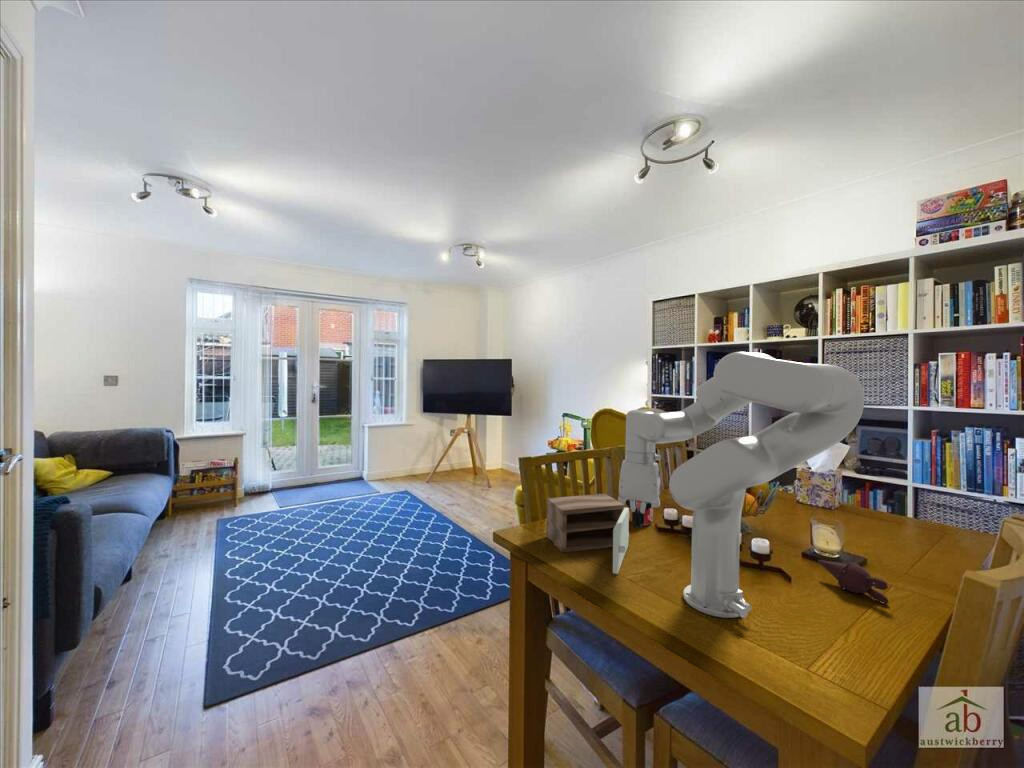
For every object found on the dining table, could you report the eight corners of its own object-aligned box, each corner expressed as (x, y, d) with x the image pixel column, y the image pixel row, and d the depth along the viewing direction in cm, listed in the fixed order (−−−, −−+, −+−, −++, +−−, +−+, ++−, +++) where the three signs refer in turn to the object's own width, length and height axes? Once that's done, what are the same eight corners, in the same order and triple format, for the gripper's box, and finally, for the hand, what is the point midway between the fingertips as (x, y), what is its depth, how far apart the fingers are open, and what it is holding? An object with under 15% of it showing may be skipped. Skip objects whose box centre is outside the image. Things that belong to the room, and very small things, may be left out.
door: (633, 544, 123) (634, 507, 123) (623, 575, 104) (623, 531, 104) (624, 543, 124) (624, 506, 124) (612, 573, 105) (612, 529, 105)
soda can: (650, 519, 146) (650, 485, 146) (654, 527, 139) (655, 491, 139) (629, 518, 147) (629, 484, 146) (633, 526, 140) (633, 490, 139)
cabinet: (624, 545, 124) (625, 504, 124) (562, 552, 118) (562, 510, 118) (604, 530, 135) (604, 493, 135) (546, 536, 130) (546, 498, 129)
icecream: (807, 553, 104) (876, 587, 90) (827, 542, 106) (898, 574, 92) (808, 578, 105) (877, 615, 91) (829, 567, 108) (899, 602, 94)
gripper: (671, 457, 111) (669, 526, 111) (614, 452, 117) (613, 517, 118) (668, 463, 104) (666, 536, 104) (608, 456, 110) (606, 525, 111)
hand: (638, 526), depth 111 cm, fingers closed
